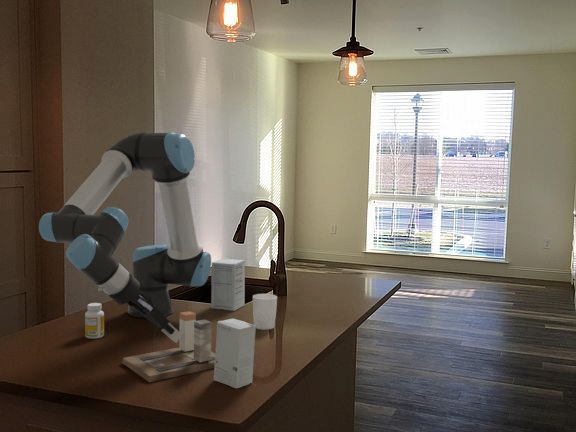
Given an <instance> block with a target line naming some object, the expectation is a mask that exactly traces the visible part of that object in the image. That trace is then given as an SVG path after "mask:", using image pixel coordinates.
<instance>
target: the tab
mask: <svg viewBox="0 0 576 432" xmlns="http://www.w3.org/2000/svg"><path fill="white" fill-rule="evenodd" d="M194 321H197V313H195V312H193V311H191V310H190V311H189V310H188V311H184V312H183V311H182V312H179V330H178V331H179V332H180V333H181V334H182V337H181V338H180V339H179V340H178V342H179V346H178V347H179V349H181V350H183V351H185V352H186V351H191V350H194Z"/></svg>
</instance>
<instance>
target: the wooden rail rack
mask: <svg viewBox="0 0 576 432" xmlns="http://www.w3.org/2000/svg"><path fill="white" fill-rule="evenodd" d="M122 364H123V365H124V366H126V367H127V368H128V369H130V370H131V371H133V372H134V373H135V374H137V375H138V376H140V377H141V378H142V379H144V380H145V381H147V382H148V383H151V382H152V383H153V382H157V381H161V380H165V379H171V378H176V377H179V376H183V375H188V374H195V373H198V372H202V371H206V370H212V369H214V366H215V352H214V351H212V321H209V320H207V319H201V320H200V319H199V320H196V321H194V350H191V351H186V352H185V351H183V350H181V349H179V346H178V347H173V348H168V349H163V350H157V351H153V352H148V353H141V354H137V355H132V356H125V357H123V358H122Z"/></svg>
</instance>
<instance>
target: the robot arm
mask: <svg viewBox="0 0 576 432" xmlns="http://www.w3.org/2000/svg"><path fill="white" fill-rule="evenodd" d="M195 157H196V156H195V150H194V146H193V144H192V142H191V140H190V139H189V137H188V136H186V135H185V134H183V133H175V132H135V133H131V134H128V135H127V136H124V137H122V138H121V139H119V140H117V141H116V142H114V143H113V144H112V145H111V146H110V147H109V148H108V149H107V150H106V151H105V152H104V153H103V154H102V156H101V158H100V159H101V161H100V163H99V164H97V165H98V166H97V167H95V169H94V170H93V171H92V172H91V174H90V175H88V177H87V178H86V179H85V180H84V181H83V183H82V184H81V185H80V186H79V187H78V188H77V190H76V191H75V192H74V193H73V194H72V195H71V197H70V198H69V199H68V200H67V201H66V202H65V204H64V205H63V206H62V207H61V208H60V210H58V212H54V211H53V212H46V213H45V214H43V215H42V216H41V217H40V219H39V223H38V232H39V234H40V236H41V238H42V239H43V240H45V241H47V242H54V243H59V244H60V243H64V244H69V245H68V247H66V248H67V249H66V251H65V256H66V258H67V260H69V262H70V263H71V264H72V265H73V266H74V267H75V268H76V269H77V270H79V271H80V272H81V273H82V274H84V275H85V277H86V278H88V279H89V280H90V281H92V282H93V283H94V284H95V285H96V286H97V287H98V289H97V290H98V291H99V292H102V291H103V292H104V293H105V294H107V295H108V296H109V298H110V299H111V300H113V301H114V302H115V303H116V304H117V305H122V306H123V305H125V304H127V305H128V306H127V315H129V316H131V317H134V318H140V319H141V318H142V319H143V318H144V319H146V320H148V321H149V322H150V323H151V324H154V326H155V327H158V328H157V331H159V332H162V333H163V334H165V336H167V337H168V338H169V339H170V340H171V341H172V342H173V343H175V344H177V343H178V342H179V339H180V338H181V337H182V334H181V333H180V332H179V330H178V329H177V327H175V326H174V325H172V324H171V323H170V319H168V318H167V316H169V315H171V314H173V312H174V306H173V303H172V299H171V297H170V293H169V292H170V291H169V285H175V286H187V287H190V288H191V287H201V286H204V285H205V284H206V283H207V280H208V279H209V275H210V272H211V269H212V255H211V254H210V253H209V252H207V251H204V249H203V245H202V243H201V242H199V241H197V234H196V229H195V223H194V217H193V210H192V206H191V201H190V194H189V193H190V192H189V189H188V182H187V179H188V178H189V176H190V175H191V171H192V170H193V169H194V166H195ZM139 171H143V172H151V178H152V180H153V182H155V183H157V184H158V187H159V194H160V198H161V203H162V207H163V213H164V218H165V222H166V223H165V224H166V227H167V228H166V229H167V233H168V237H169V239H168V240H169V244H170V246H169V245H168V244H154V245H153V244H152V245H145V246H141V247H137V248H136V249H135V250H134V251H133V257H132V274H131V273H130V272H129V271H128V270H127V269H126V268H125V267H124V266H123V265H122V264H121V263H120V262H119V261H117V260H116V258H114V256H113V255H114V252H115V251H116V249H117V247H118V246H119V243H121V240H122V238H123V237H124V236H125V234H126V231H127V229H128V226H129V222H130V219H129V218H128V215H127V213H125V211H123V210H122V209H120V208H118V207H115V206H108V207H106V208H104V209H102V211H101V212H100V214H96V212H97V211H98V210H99V208H100V207H101V206H102V204H103V203H104V202H105V201H106V200H107V198H108V197H109V196H110V195H111V193H112V192H113V191H114V189H115V188H116V187H117V186H118V184H120V182H121V181H122V179H125V178H127V177H129V176H130V175H131V173H133V172H139Z"/></svg>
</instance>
